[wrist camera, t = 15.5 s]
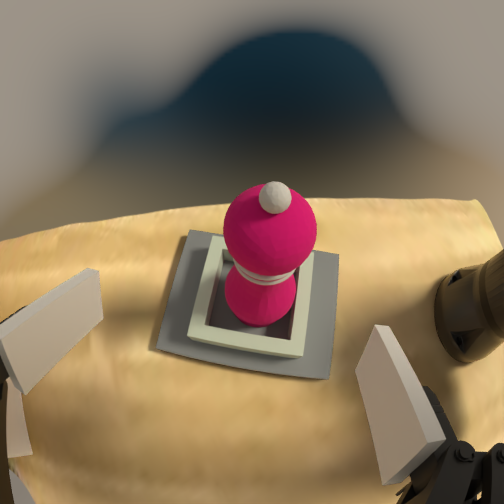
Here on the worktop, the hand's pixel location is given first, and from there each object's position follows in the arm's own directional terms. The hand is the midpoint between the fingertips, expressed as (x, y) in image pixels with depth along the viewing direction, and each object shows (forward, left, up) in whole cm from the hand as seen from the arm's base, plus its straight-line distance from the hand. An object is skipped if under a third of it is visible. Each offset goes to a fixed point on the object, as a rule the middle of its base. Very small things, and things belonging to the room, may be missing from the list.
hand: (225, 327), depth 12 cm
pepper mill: (-1, -7, -19) cm, 20 cm away
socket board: (-1, -7, -20) cm, 22 cm away
